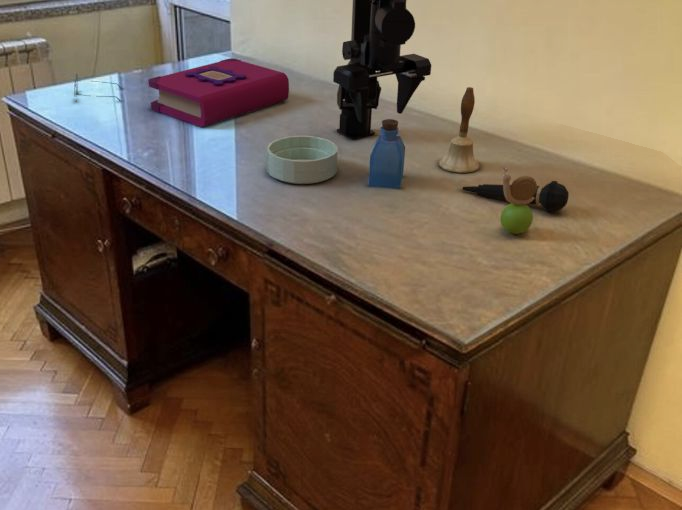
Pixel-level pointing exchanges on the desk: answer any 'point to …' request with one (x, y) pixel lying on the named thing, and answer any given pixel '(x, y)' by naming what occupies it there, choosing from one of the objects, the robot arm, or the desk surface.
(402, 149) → the perfume bottle
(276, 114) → the desk surface
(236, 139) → the desk surface
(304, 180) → the bowl
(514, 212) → the snail figurine
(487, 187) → the microphone
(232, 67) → the book
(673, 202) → the desk surface
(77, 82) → the eyeglasses
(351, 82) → the robot arm
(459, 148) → the hand bell
